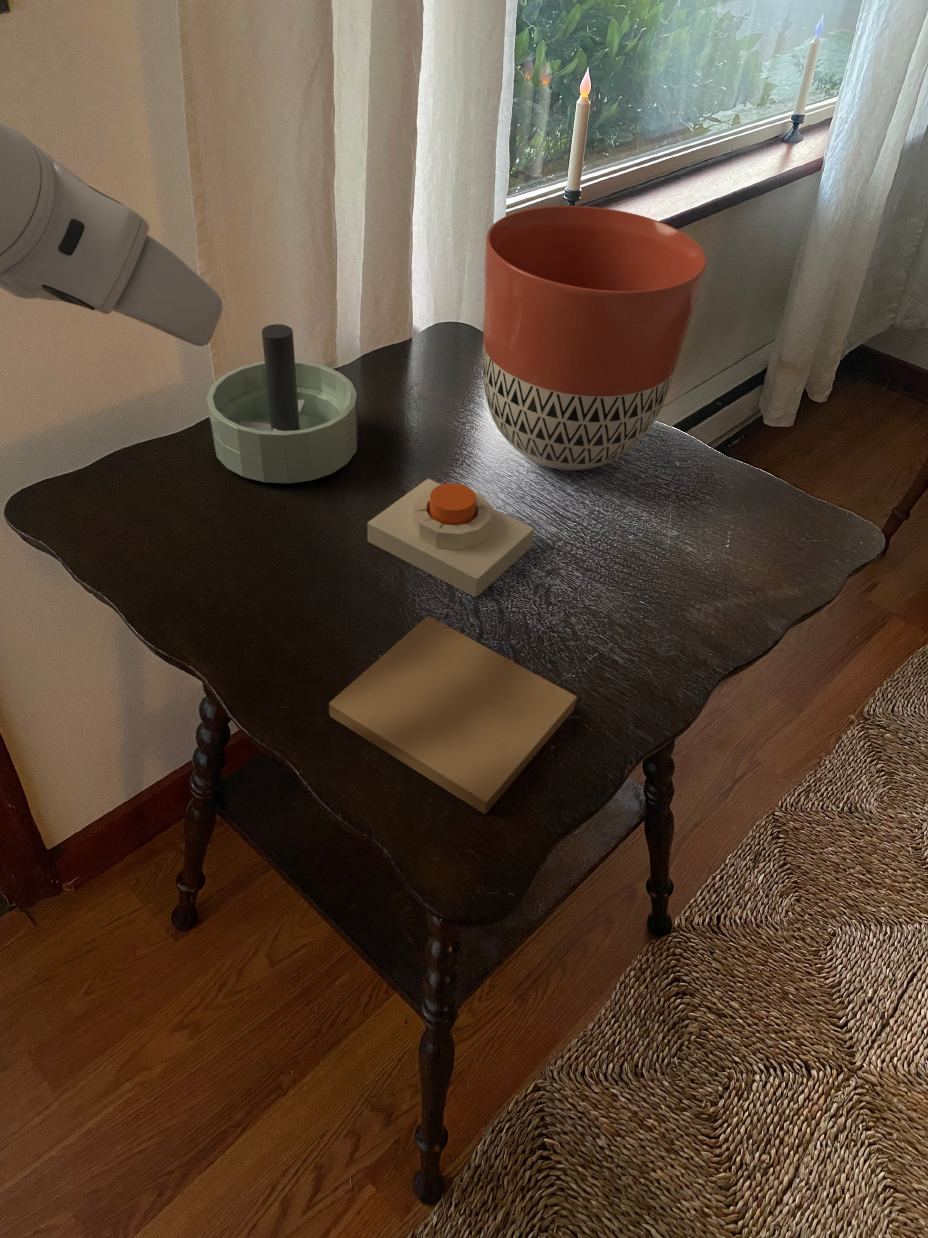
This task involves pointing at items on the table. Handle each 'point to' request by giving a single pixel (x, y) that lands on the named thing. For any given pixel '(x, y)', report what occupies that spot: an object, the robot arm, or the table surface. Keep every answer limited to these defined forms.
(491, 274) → the planter
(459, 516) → the release button
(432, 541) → the base
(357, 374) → the table surface
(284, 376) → the blade
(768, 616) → the table surface
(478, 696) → the cutting board
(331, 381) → the processor bowl
